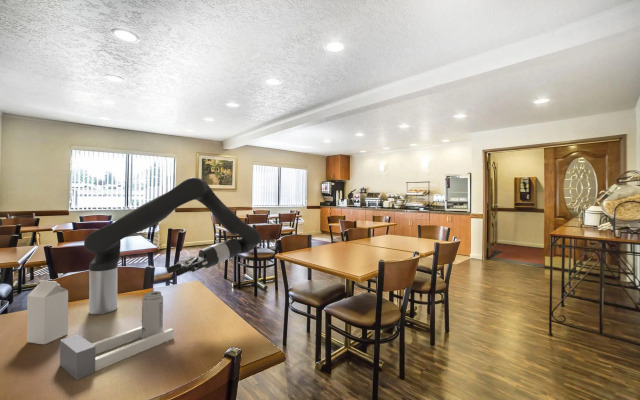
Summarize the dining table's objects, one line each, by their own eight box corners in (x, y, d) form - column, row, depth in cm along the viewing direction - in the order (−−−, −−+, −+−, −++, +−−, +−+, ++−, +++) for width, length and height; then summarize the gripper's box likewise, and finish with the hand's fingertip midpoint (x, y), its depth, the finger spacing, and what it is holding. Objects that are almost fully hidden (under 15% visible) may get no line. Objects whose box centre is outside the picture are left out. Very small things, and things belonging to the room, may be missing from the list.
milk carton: (44, 345, 91) (44, 285, 90) (26, 342, 92) (26, 283, 92) (68, 334, 98) (68, 278, 97) (51, 332, 99) (51, 277, 99)
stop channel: (60, 364, 80) (60, 339, 80) (155, 329, 102) (155, 309, 102) (76, 380, 74) (76, 352, 74) (174, 338, 96) (174, 317, 96)
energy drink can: (143, 336, 97) (143, 292, 97) (163, 333, 100) (163, 289, 100) (140, 344, 92) (140, 297, 92) (161, 341, 94) (162, 295, 94)
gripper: (204, 245, 116) (161, 260, 105) (220, 246, 106) (175, 263, 95) (209, 262, 117) (167, 279, 106) (225, 265, 107) (181, 284, 96)
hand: (171, 272), depth 101 cm, fingers open, 8 cm apart
